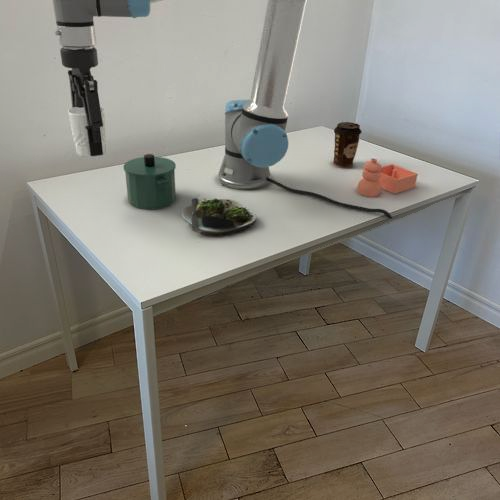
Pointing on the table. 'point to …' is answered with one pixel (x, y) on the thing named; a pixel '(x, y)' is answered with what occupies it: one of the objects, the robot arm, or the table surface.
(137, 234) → the table surface
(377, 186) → the pottery
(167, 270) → the table surface
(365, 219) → the table surface
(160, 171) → the pot lid
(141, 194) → the pot
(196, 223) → the salad plate
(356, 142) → the coffee cup
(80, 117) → the white cup
